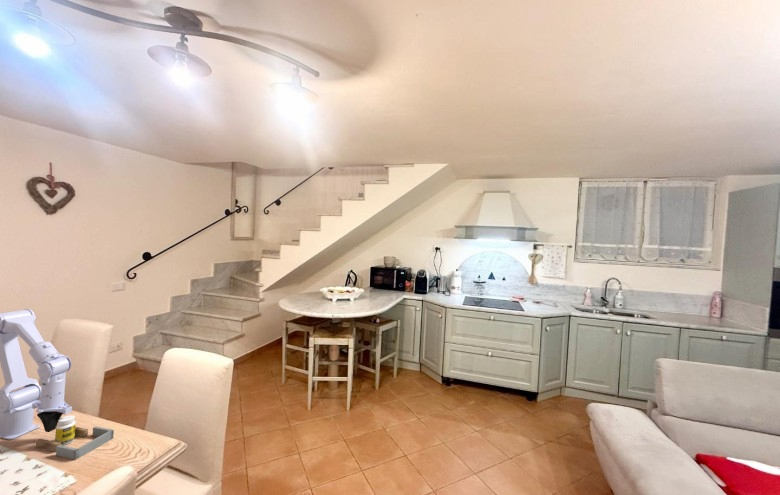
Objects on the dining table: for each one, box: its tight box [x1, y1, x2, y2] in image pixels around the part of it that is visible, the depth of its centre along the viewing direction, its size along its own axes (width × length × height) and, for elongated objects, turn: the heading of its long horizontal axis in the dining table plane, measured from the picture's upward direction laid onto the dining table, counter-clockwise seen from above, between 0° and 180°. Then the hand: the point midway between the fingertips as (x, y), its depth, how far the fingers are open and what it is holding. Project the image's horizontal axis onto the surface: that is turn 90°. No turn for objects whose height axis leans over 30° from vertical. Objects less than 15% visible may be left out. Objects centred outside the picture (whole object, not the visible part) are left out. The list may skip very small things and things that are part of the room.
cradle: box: [55, 425, 115, 461], centre depth 105 cm, size 8×12×3 cm
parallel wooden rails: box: [35, 426, 89, 453], centre depth 107 cm, size 9×9×2 cm
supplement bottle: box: [54, 414, 77, 446], centre depth 107 cm, size 5×5×8 cm
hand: (50, 430), depth 108 cm, fingers closed
